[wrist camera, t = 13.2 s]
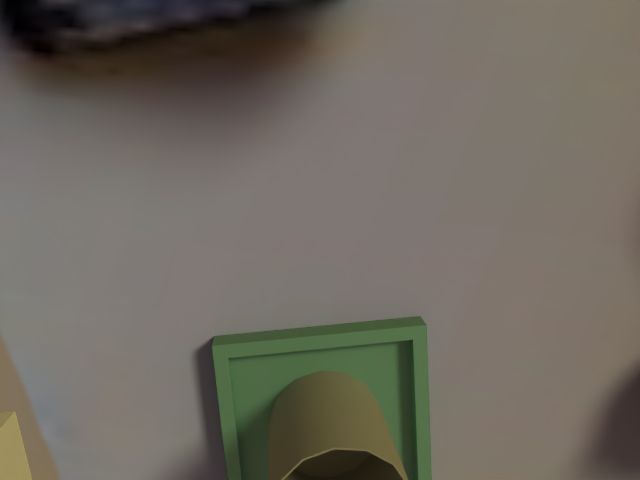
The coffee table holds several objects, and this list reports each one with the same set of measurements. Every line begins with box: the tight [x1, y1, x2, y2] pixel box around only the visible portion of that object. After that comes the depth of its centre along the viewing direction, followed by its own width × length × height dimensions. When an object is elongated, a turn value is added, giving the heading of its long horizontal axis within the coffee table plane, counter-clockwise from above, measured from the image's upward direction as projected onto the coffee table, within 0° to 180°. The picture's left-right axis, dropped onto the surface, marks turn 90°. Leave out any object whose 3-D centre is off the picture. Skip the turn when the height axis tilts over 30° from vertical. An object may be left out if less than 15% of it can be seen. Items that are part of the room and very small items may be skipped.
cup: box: [268, 371, 408, 480], centre depth 38 cm, size 8×8×10 cm
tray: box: [212, 316, 432, 480], centre depth 42 cm, size 15×15×2 cm
